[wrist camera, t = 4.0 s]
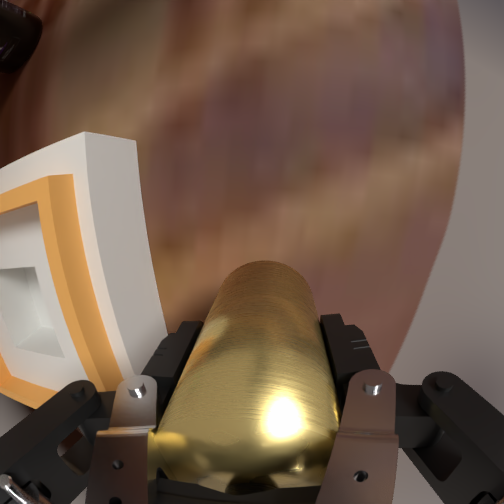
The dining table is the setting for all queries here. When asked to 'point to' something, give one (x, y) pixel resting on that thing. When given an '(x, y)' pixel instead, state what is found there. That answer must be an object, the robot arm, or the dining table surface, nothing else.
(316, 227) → the dining table surface
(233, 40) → the dining table surface
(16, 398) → the white box with knob
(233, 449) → the oil can
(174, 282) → the dining table surface
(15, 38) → the supplement bottle
